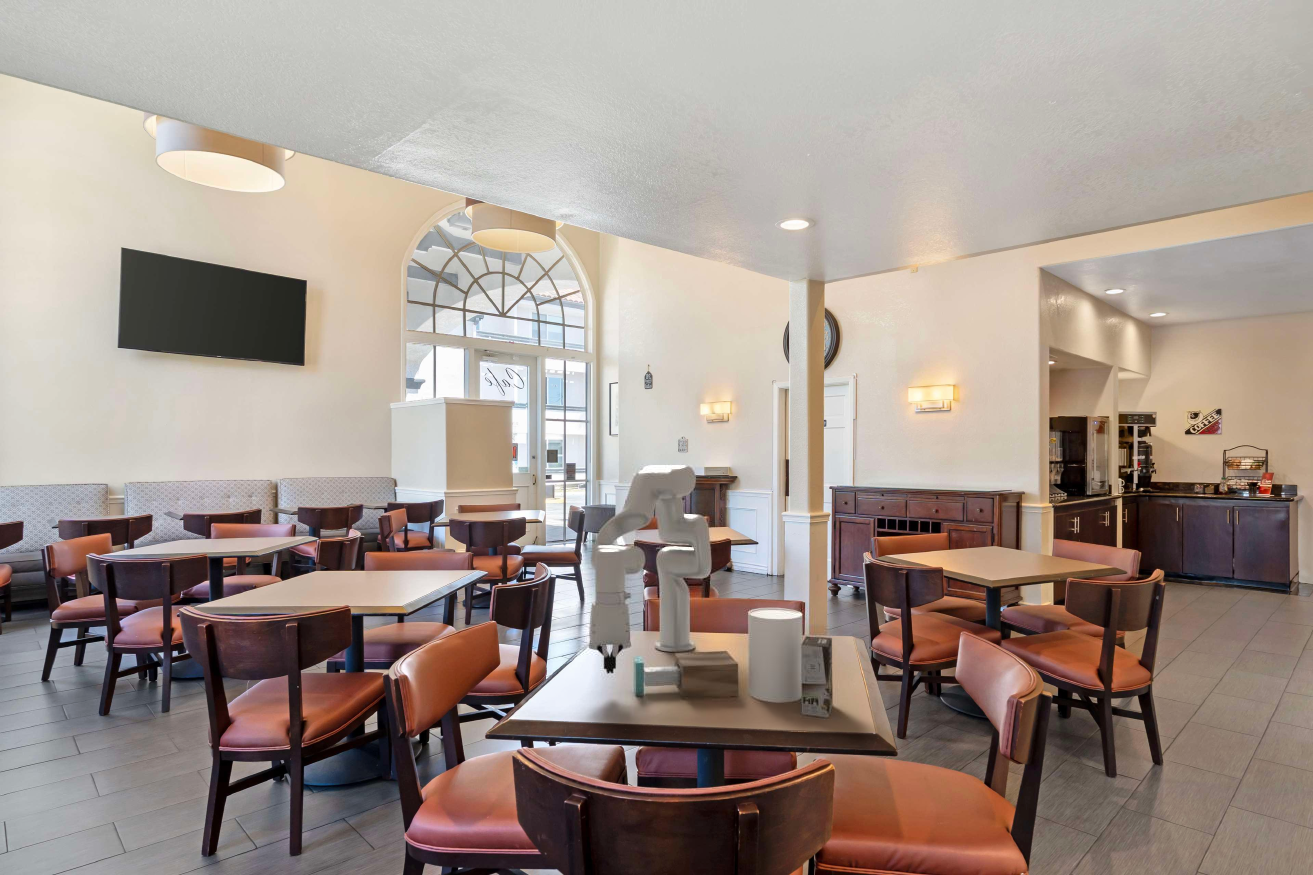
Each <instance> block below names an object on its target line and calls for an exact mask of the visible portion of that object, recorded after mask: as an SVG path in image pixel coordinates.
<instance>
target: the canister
mask: <svg viewBox="0 0 1313 875" xmlns="http://www.w3.org/2000/svg"><path fill="white" fill-rule="evenodd" d="M747 613H748V614H747V618H748V619H747V622H748V624H747V625H748V627H747V629H748V630H747V633H748V634H747V636H748V642H747V643H748V646H747V647H748V694H749V695H750V696H751V697H752V698H755V699H757V700H760V701H763V702H770V703H790V702H795V701H798V700H802V681H801V644H802V643H803V641H804V640H803V639H804V638H803V635H804V634H803V613H802V612H800V611H798V610H795V609H792V608H791V609H789V608H784V607H782V608H781V607H759V608H754V609H750V610H749V611H748V612H747Z"/></svg>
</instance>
